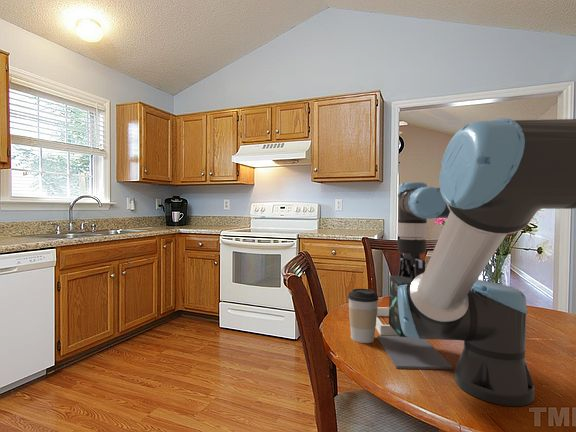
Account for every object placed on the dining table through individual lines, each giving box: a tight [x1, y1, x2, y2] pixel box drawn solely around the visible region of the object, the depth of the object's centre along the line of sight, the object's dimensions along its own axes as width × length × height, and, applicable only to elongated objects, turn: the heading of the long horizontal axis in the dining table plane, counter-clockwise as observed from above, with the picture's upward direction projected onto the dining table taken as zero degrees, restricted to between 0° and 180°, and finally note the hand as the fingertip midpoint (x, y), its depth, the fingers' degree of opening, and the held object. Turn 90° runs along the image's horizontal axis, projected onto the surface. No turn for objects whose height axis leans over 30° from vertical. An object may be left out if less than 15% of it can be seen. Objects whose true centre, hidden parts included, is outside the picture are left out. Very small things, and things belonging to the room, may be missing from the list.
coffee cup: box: [347, 288, 379, 344], centre depth 103 cm, size 9×9×15 cm
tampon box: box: [388, 275, 412, 337], centre depth 94 cm, size 11×9×15 cm
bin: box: [375, 306, 399, 336], centre depth 116 cm, size 20×17×3 cm
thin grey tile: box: [376, 335, 454, 371], centre depth 94 cm, size 20×14×1 cm
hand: (410, 316), depth 95 cm, fingers closed on tampon box, 11 cm apart
